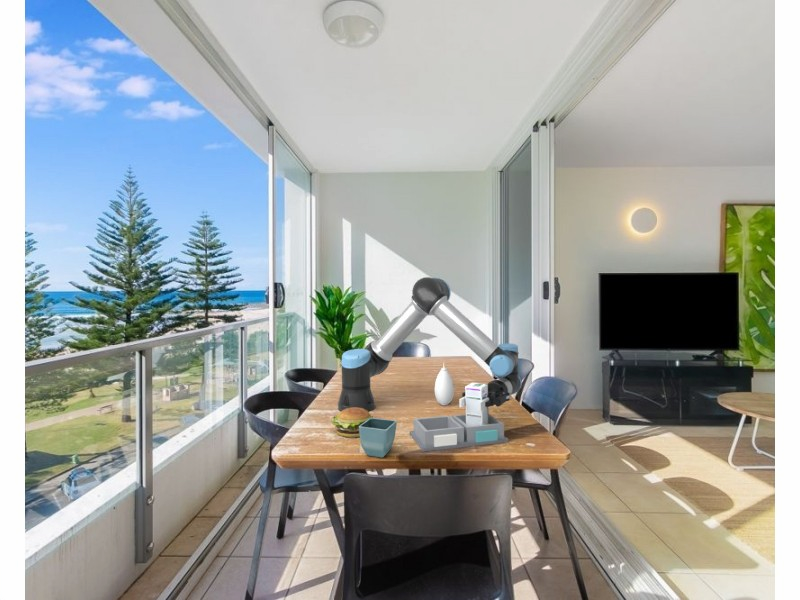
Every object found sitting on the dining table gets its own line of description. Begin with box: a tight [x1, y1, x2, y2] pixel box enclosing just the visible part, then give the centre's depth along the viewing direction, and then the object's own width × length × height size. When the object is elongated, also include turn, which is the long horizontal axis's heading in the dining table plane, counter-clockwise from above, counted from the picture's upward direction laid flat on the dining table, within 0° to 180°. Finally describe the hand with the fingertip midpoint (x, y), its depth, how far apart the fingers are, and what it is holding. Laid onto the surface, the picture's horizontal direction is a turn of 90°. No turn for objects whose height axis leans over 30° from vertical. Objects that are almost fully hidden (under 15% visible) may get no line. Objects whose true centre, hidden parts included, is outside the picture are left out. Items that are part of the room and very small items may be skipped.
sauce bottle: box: [434, 364, 455, 407], centre depth 165 cm, size 8×8×18 cm
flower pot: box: [359, 417, 398, 458], centre depth 115 cm, size 9×9×9 cm
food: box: [331, 407, 374, 438], centre depth 134 cm, size 14×14×8 cm
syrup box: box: [464, 382, 489, 426], centre depth 129 cm, size 6×6×14 cm
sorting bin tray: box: [409, 413, 509, 453], centre depth 127 cm, size 28×15×6 cm, turn 104°
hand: (469, 405), depth 124 cm, fingers closed on syrup box, 6 cm apart
